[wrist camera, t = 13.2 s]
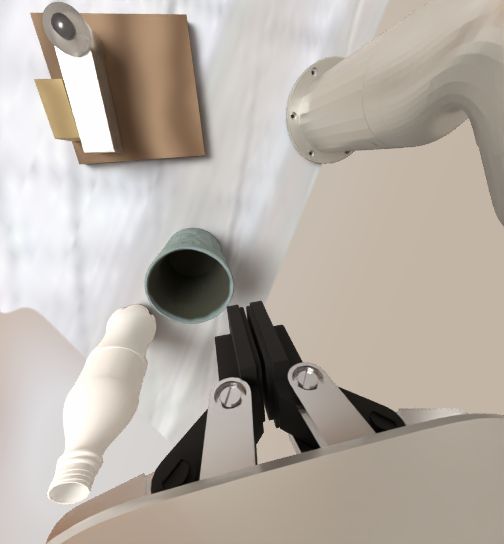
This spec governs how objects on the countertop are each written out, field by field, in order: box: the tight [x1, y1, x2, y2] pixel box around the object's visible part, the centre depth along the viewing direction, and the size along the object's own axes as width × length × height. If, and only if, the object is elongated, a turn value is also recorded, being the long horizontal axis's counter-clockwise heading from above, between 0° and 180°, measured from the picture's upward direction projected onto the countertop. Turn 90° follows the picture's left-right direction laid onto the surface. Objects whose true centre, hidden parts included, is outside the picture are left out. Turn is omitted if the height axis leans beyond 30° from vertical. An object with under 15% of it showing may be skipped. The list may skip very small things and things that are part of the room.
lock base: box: [30, 13, 205, 164], centre depth 28 cm, size 15×14×6 cm
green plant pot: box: [145, 228, 234, 324], centre depth 35 cm, size 10×10×12 cm
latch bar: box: [43, 2, 124, 153], centre depth 26 cm, size 12×4×5 cm, turn 2°
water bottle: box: [47, 304, 156, 504], centre depth 31 cm, size 7×7×25 cm
